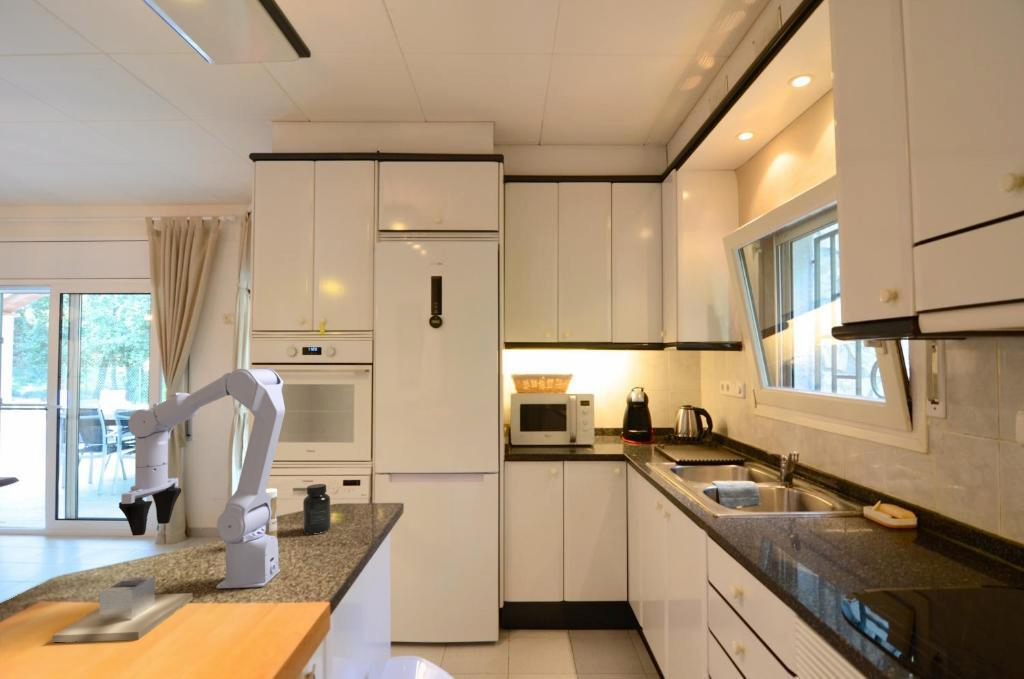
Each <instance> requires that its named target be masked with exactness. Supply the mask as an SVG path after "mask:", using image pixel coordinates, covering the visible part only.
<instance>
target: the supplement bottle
mask: <svg viewBox="0 0 1024 679" xmlns="http://www.w3.org/2000/svg"><path fill="white" fill-rule="evenodd" d="M306 495H307V496H306V497H304V499H303V501H302V502H303V503H302V505H303V509H302V510H303V514H302V515H303V520H302V522H303V532H305V533H308V534H307V535H309V534H314V533H320V532H324V531H327V530H328V529H331V525H332V523H331V517H332V516H331V496H330V495H329V494H327V484H325V483H316V484H311V485H308V486H306ZM327 532H328V531H327ZM305 533H304V534H305ZM324 533H325V532H324Z"/></svg>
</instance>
